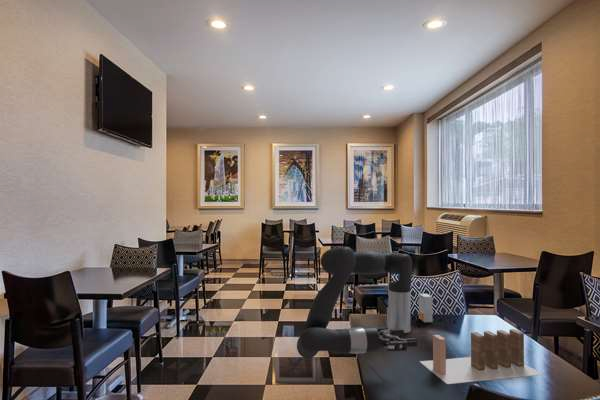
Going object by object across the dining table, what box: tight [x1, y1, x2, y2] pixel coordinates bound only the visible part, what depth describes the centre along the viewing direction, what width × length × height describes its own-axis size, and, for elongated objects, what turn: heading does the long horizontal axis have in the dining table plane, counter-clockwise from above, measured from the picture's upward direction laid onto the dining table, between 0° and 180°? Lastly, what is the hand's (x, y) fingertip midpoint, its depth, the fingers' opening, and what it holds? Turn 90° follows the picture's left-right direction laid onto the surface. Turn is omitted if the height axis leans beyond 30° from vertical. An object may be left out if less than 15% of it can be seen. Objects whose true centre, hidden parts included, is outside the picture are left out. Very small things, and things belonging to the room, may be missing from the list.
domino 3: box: [496, 329, 511, 368], centre depth 121 cm, size 2×4×11 cm, turn 11°
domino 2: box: [483, 330, 498, 369], centre depth 120 cm, size 2×4×11 cm, turn 11°
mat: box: [419, 356, 543, 385], centre depth 119 cm, size 34×16×1 cm, turn 101°
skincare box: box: [418, 293, 434, 323], centre depth 170 cm, size 6×4×12 cm
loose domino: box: [432, 334, 447, 374], centre depth 116 cm, size 2×4×11 cm, turn 11°
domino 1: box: [470, 331, 485, 371], centre depth 119 cm, size 2×4×11 cm, turn 11°
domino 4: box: [509, 329, 525, 367], centre depth 122 cm, size 2×4×11 cm, turn 11°
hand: (409, 337), depth 114 cm, fingers open, 8 cm apart
